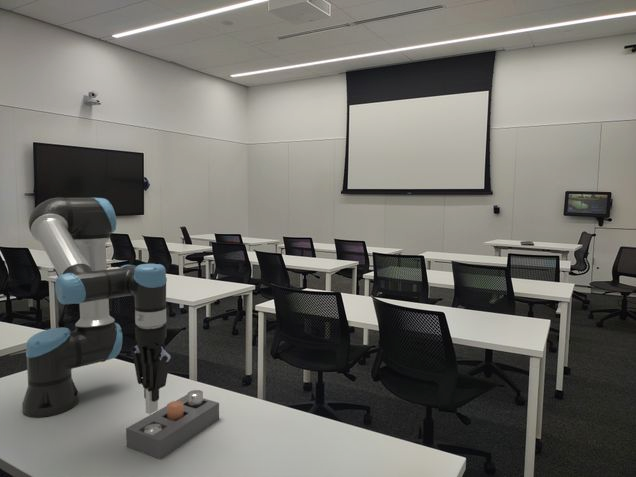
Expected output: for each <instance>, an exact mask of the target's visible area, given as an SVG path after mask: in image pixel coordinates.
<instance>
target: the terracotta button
mask: <svg viewBox="0 0 636 477" xmlns="http://www.w3.org/2000/svg"><path fill="white" fill-rule="evenodd" d="M166 406H167V419H170V420H173V421H177V420H179V419H180V418H182V417H183V416H184V406H183V402H181V401H176V400H174V401H173V400H172V401H170V402H168V403H167V404H166Z"/></svg>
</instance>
